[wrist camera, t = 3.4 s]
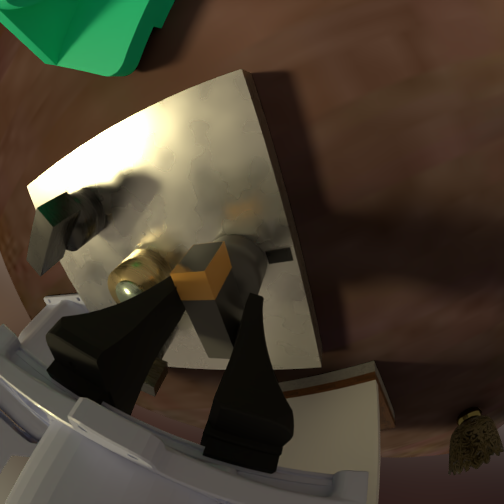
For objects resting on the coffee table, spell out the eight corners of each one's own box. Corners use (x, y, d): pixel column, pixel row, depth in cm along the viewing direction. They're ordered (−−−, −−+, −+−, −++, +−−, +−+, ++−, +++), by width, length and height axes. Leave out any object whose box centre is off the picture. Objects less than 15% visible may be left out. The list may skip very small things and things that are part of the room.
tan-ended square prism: (274, 296, 17) (257, 360, 13) (220, 299, 18) (191, 356, 14) (256, 217, 15) (228, 269, 11) (195, 225, 16) (151, 274, 12)
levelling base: (133, 349, 28) (102, 396, 22) (42, 178, 19) (-17, 210, 14) (322, 348, 21) (315, 424, 16) (251, 73, 13) (200, 53, 7)
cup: (467, 396, 22) (479, 454, 15) (501, 395, 21) (514, 446, 14) (432, 426, 26) (437, 478, 19) (468, 425, 25) (474, 471, 18)
